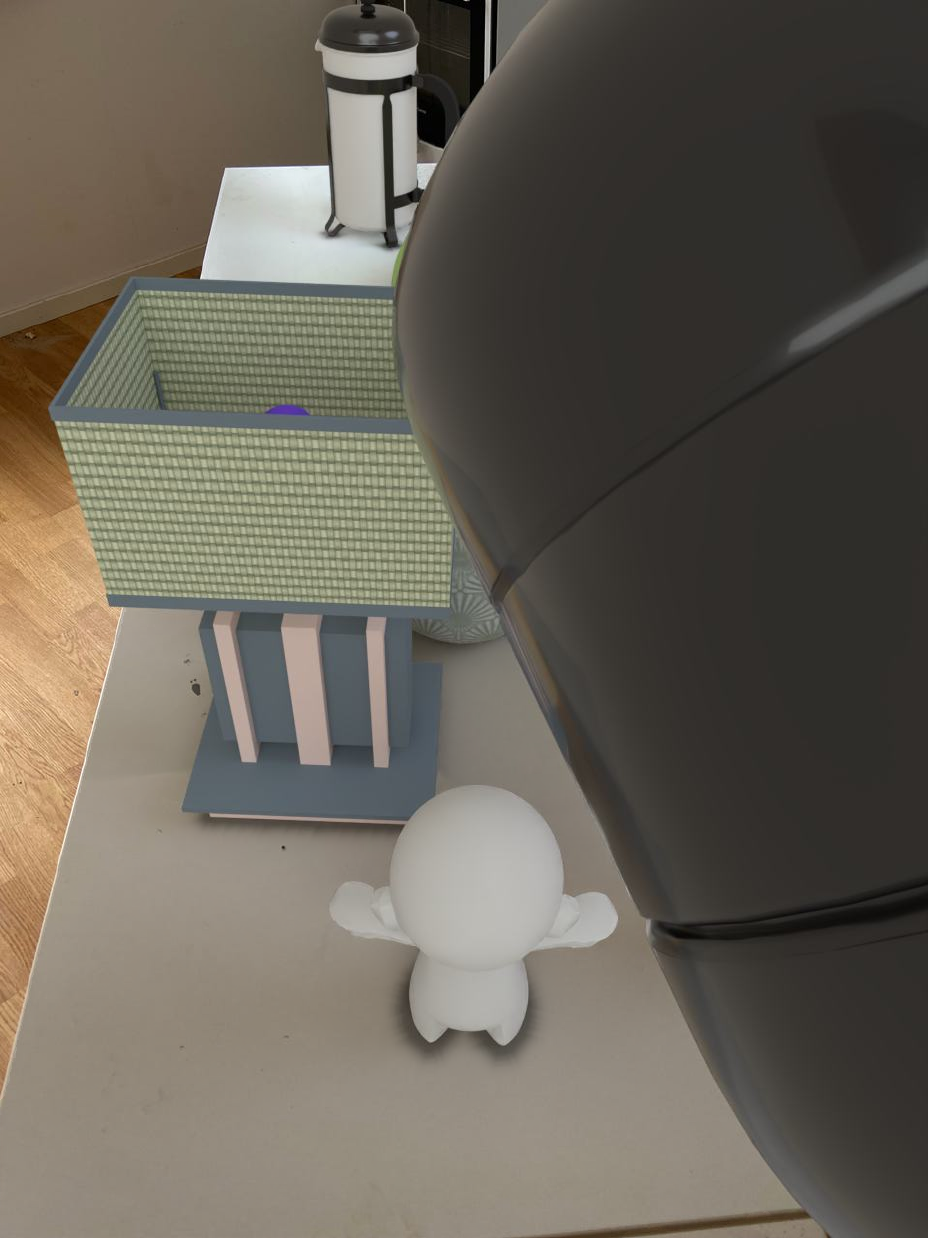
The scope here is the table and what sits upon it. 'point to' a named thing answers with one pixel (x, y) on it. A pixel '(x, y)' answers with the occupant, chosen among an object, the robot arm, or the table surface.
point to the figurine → (474, 908)
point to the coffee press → (374, 116)
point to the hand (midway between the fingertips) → (778, 668)
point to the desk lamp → (272, 532)
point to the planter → (464, 608)
